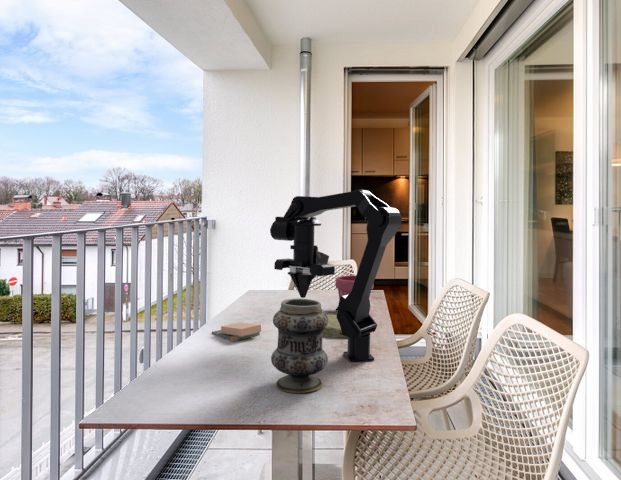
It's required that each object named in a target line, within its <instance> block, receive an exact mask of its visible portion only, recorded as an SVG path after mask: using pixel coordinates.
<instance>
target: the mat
mask: <svg viewBox="0 0 621 480" xmlns="http://www.w3.org/2000/svg"><path fill="white" fill-rule="evenodd" d="M211 334H213V335H215V336H217V337H221V338H222V339H226V340H229V341H230V337H231V336H234V335H228V334H222V333H221V329H219V330H214V331H213V330H212V331H211Z"/></svg>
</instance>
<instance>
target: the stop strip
mask: <svg viewBox="0 0 621 480" xmlns="http://www.w3.org/2000/svg"><path fill="white" fill-rule="evenodd" d="M260 333H261V332H260ZM260 333H256V334H252V335H247V336H243V337H240V336H231V337H230V340H229V342H230V343H231V342H232V343H233V342H237V341H241V340H245V339H248V338H252V337H253V338H254V337H257V336H260V335H261V334H260Z"/></svg>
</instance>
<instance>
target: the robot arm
mask: <svg viewBox="0 0 621 480" xmlns="http://www.w3.org/2000/svg"><path fill="white" fill-rule="evenodd" d="M353 207H356V208H357V209H358V211H359V213H360V214H361V216H362V217H364V218H365V219H366V220H367V222H366V229H365V230H366V234H367V242H366V243H365V248H364V251H363V254H362V256H361V259H360V262H359V263H360V264H359V265H358V269H357V271H356V274H355V275H356V278H355V281H354V284H353V287H352V290H351V292H350V293H349V294H348V295H344V296H341V297H340V299H339V298H338V299H339V301H338V305H337V307H336V308H335V311H337V312H336V314H335V315H336V317H337V319H338V322H339V324H340V328H341V331H342V335H344V336H347V337H348V338H347V351H343V352H342V354H343V356H345V358H346V359H347V360H348V361H349V362H365V361H375V357H374V356H373V355H372V354H371V333H374V332H376V330H377V328H378V324H377V322H376V321H375V319H374V318H373V317H372V316H371V314H370V311H371V310H370V309H371V301H370V298H369V295H370V296H371V293H370V292H372V290H373V289H372V286H373V283H374V282H375V280H376V277H377V274H378V271H379V270H380V265H381V263H382V260H383V257H384V254H385V251H386V248H387V246H388V244H389V243H390V241H391V240H392V239H394V237H395V236H396V234H397V232H398V230H399V228H400V226H401V225H402V224H403V223H402V221H403V216H402V215H401V213H400V211H399V209H397V208H396V207H391V206H389V205H388V204H387V203H386V202H384V201H383V200H381V199H380V198H378V197H376V196H375V195H374V194H373V193H372V192H371V191H370V190H367V189H355V190H353V191H351V190H350V191H347V192H342V193H341V192H340V193H335V194H329V195H328V194H327V195H323V196H306V195H305V196H304V195H303V196H301V195H298V196H297V195H296V196H293V198H292V200H291V203H290V205H289V207H288V208H287V210H286V212H285V213H284V215H283V216H275V218H274V221H273V222H272V224H271V226H270V229H269V233H270V235H271V238H272V239H273V240H276V241H287V242H292V241H293V244H291V245H290V246H289V247H290V250H293V258H280V259H279V258H278V259H276V260H275V261H274V265H273V266H274V270H276V271H282V270H283V269H289V271H288V272H287V275H288V276H290V278H291V280H292V282H293V284H294V285H295V287H296V290H297V292H298V294H299V296H300V298H303V299H306V296H307V293H308V292H309V288H310V285H311V283H312V281H313V280H314V278H315V277H326V276H332V275H335V274H336V273H335V272H336V271H335V270H336V268H335V266H334V264H332V263H329V258H330V255H328V254H326V253H324V252H321V251H319V248H318V245H315V227H319V226H322V223H321V222H320V220H318V219H317V216H319V215H322V214H323V213H325V212H327V211H332V210H340V209H348V208H353Z"/></svg>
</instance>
